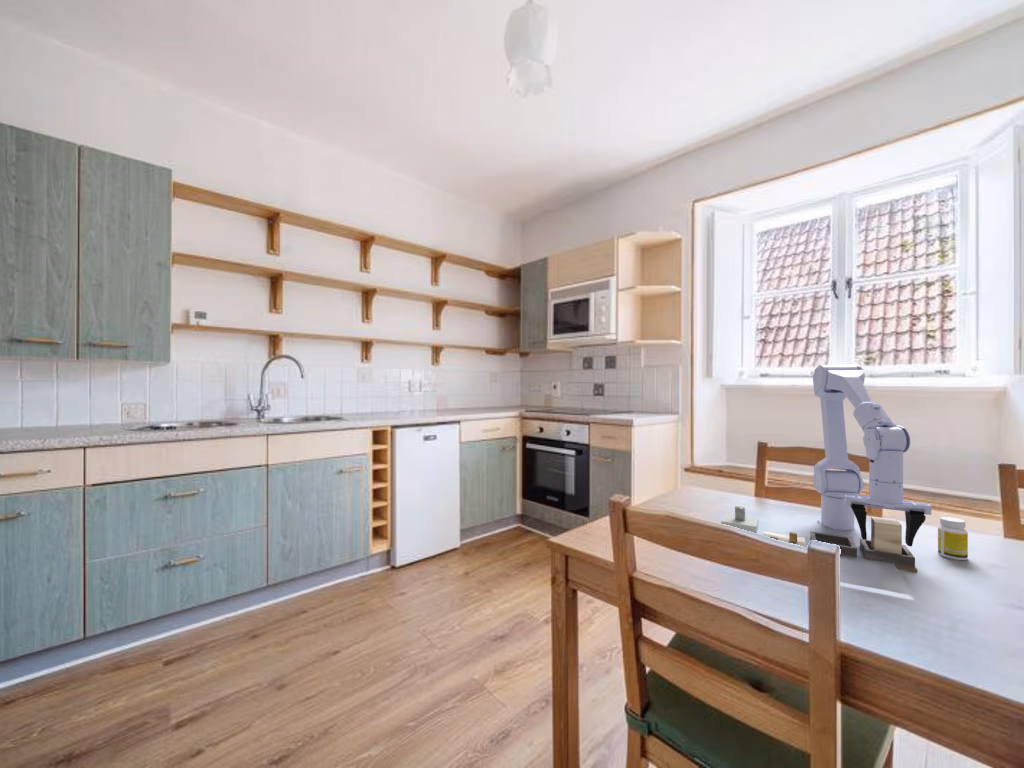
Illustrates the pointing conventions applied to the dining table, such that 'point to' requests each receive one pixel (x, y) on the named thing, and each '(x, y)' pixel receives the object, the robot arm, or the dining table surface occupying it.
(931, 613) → the dining table surface
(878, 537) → the maple peg
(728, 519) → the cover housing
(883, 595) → the dining table surface
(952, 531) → the supplement bottle
